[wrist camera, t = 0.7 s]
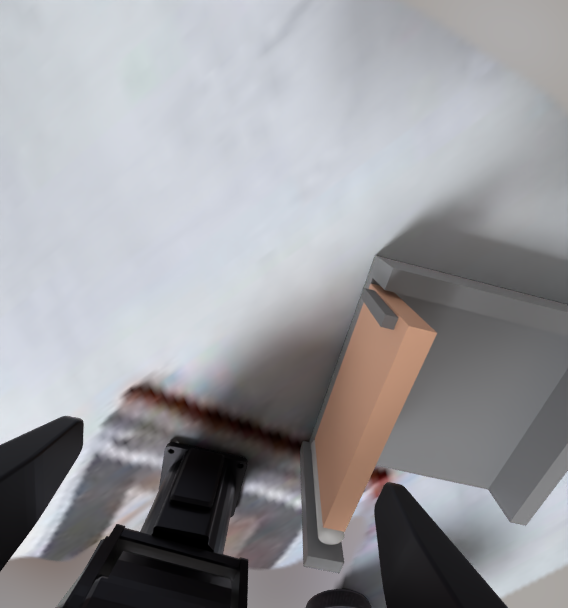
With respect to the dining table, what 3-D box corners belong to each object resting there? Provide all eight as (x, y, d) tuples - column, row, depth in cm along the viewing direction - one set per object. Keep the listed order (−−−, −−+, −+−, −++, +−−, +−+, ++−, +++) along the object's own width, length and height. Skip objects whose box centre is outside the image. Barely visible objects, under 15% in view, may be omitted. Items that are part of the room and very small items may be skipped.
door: (327, 454, 22) (339, 546, 16) (302, 449, 22) (306, 540, 16) (391, 288, 18) (439, 333, 12) (360, 281, 18) (394, 322, 12)
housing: (488, 489, 25) (574, 618, 17) (299, 449, 24) (303, 566, 16) (604, 314, 19) (802, 388, 12) (367, 253, 19) (418, 292, 11)
